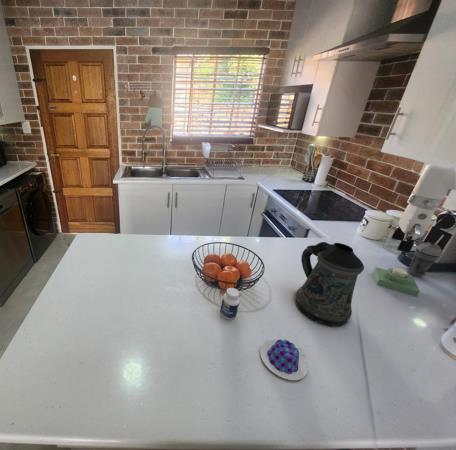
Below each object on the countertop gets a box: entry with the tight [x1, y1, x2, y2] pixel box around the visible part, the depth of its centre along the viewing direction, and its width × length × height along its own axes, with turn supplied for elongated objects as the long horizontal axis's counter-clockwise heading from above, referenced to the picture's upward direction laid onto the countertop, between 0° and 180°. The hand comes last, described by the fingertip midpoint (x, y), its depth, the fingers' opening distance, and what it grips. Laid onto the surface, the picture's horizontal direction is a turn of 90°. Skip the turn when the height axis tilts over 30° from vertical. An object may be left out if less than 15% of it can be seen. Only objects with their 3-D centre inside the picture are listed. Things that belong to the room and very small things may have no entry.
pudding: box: [259, 339, 308, 381], centre depth 68 cm, size 12×12×5 cm
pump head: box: [392, 267, 408, 278], centre depth 97 cm, size 4×4×2 cm
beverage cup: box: [406, 234, 445, 279], centre depth 103 cm, size 7×7×20 cm
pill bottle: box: [219, 287, 241, 321], centre depth 81 cm, size 5×5×10 cm
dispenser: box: [371, 266, 421, 297], centre depth 98 cm, size 12×10×6 cm
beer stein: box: [294, 241, 365, 327], centre depth 82 cm, size 16×19×25 cm
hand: (399, 244), depth 90 cm, fingers open, 9 cm apart
